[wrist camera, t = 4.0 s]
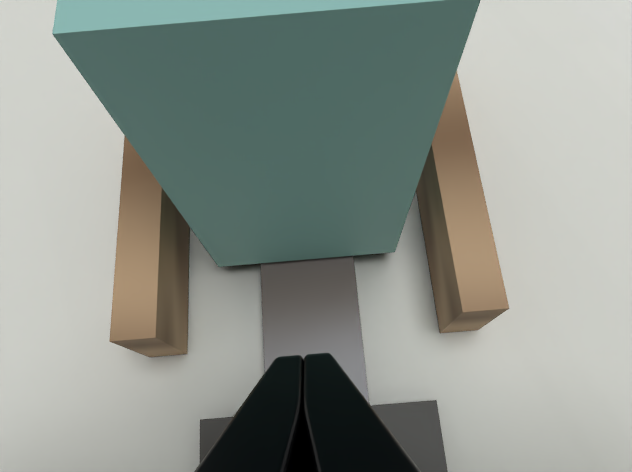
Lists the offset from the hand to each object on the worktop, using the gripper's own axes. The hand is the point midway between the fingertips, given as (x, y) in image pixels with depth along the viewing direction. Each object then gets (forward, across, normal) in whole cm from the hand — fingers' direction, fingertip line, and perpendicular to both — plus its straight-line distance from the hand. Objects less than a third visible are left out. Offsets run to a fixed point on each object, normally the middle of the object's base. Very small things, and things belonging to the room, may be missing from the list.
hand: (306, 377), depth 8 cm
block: (+10, 0, 0) cm, 10 cm away
